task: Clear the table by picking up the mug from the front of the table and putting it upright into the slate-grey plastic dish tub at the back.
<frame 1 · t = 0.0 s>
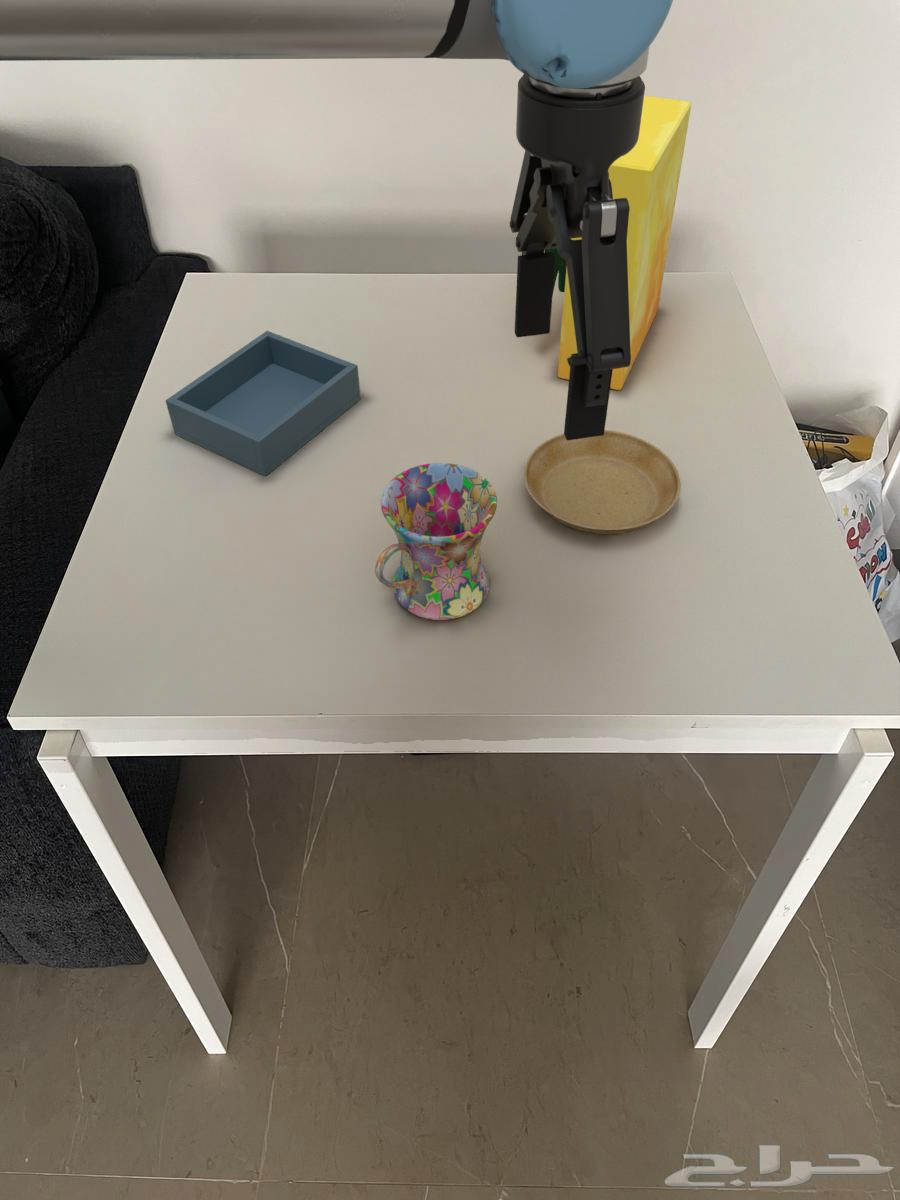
hand: (556, 381, 71), 19 cm above the table, tool pointing down, fingers open, 13 cm apart
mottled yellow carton: (587, 341, 110), on the table
mug: (431, 600, 83), on the table
plant saucer: (598, 498, 92), on the table
tub: (269, 416, 101), on the table
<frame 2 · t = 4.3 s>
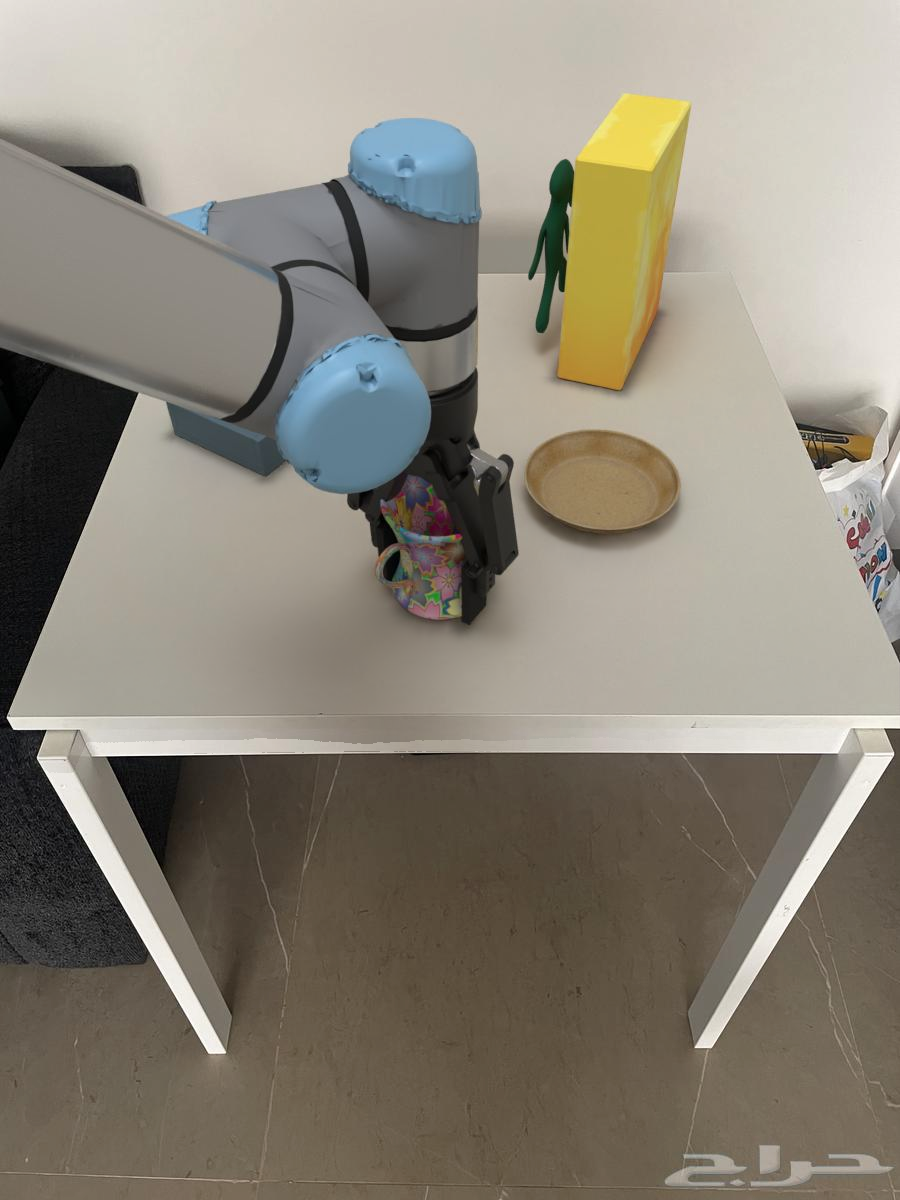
hand: (433, 593, 82), 1 cm above the table, tool pointing down, fingers closed on mug, 8 cm apart
mug: (430, 600, 83), on the table, touching gripper
everything else where it was.
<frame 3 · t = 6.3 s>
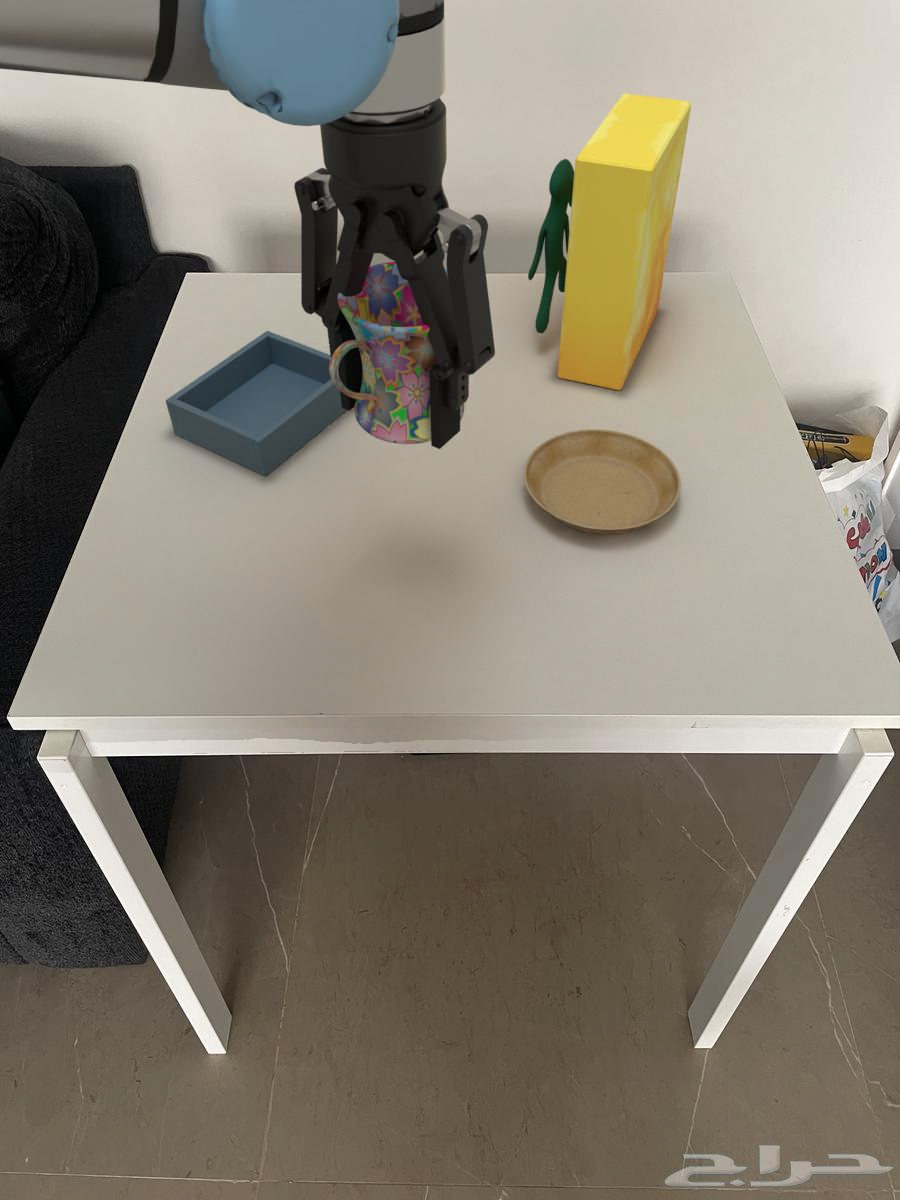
hand: (400, 418, 72), 17 cm above the table, tool pointing down, fingers closed on mug, 8 cm apart
mug: (397, 428, 73), point 16 cm above the table, touching gripper
everything else where it was.
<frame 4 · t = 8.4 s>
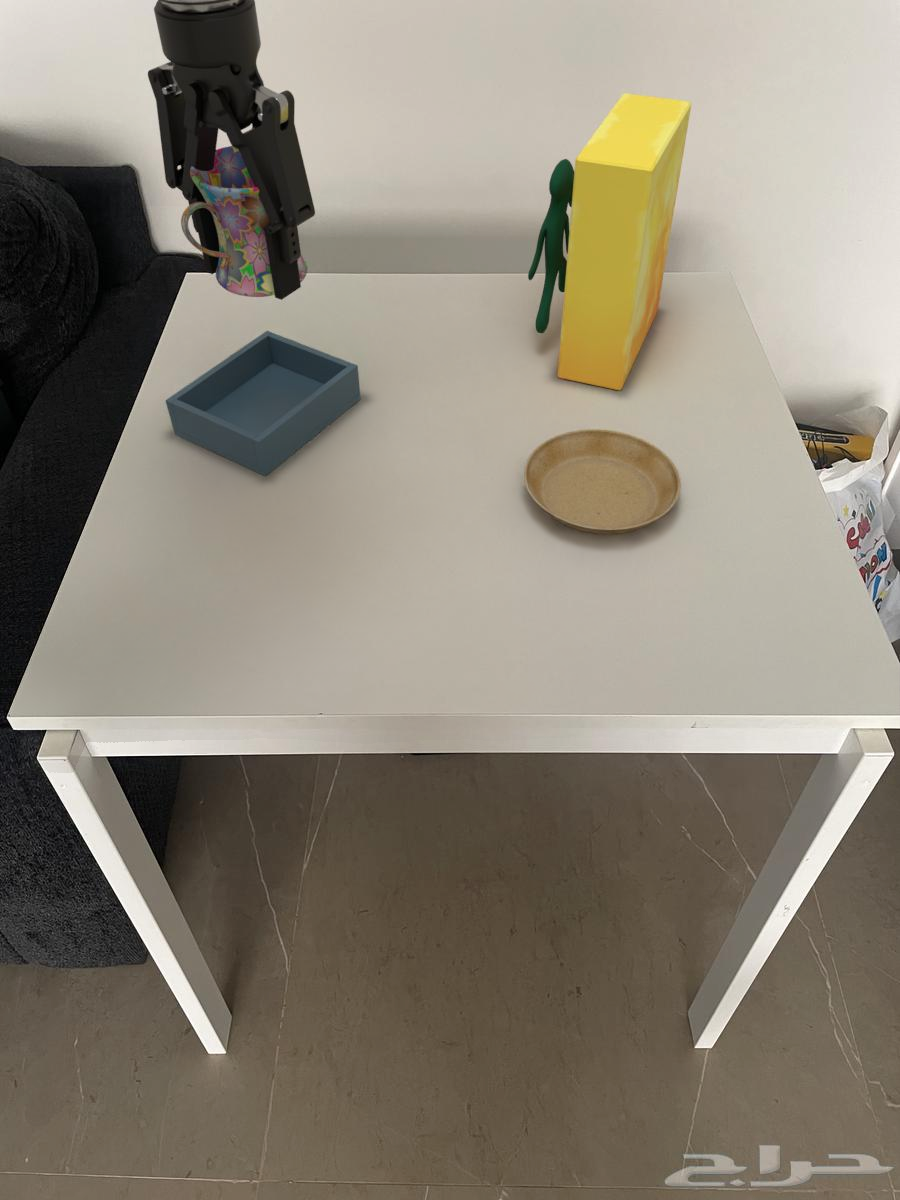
hand: (253, 279, 87), 17 cm above the table, tool pointing down, fingers closed on mug, 8 cm apart
mug: (252, 288, 88), point 16 cm above the table, touching gripper
everything else where it was.
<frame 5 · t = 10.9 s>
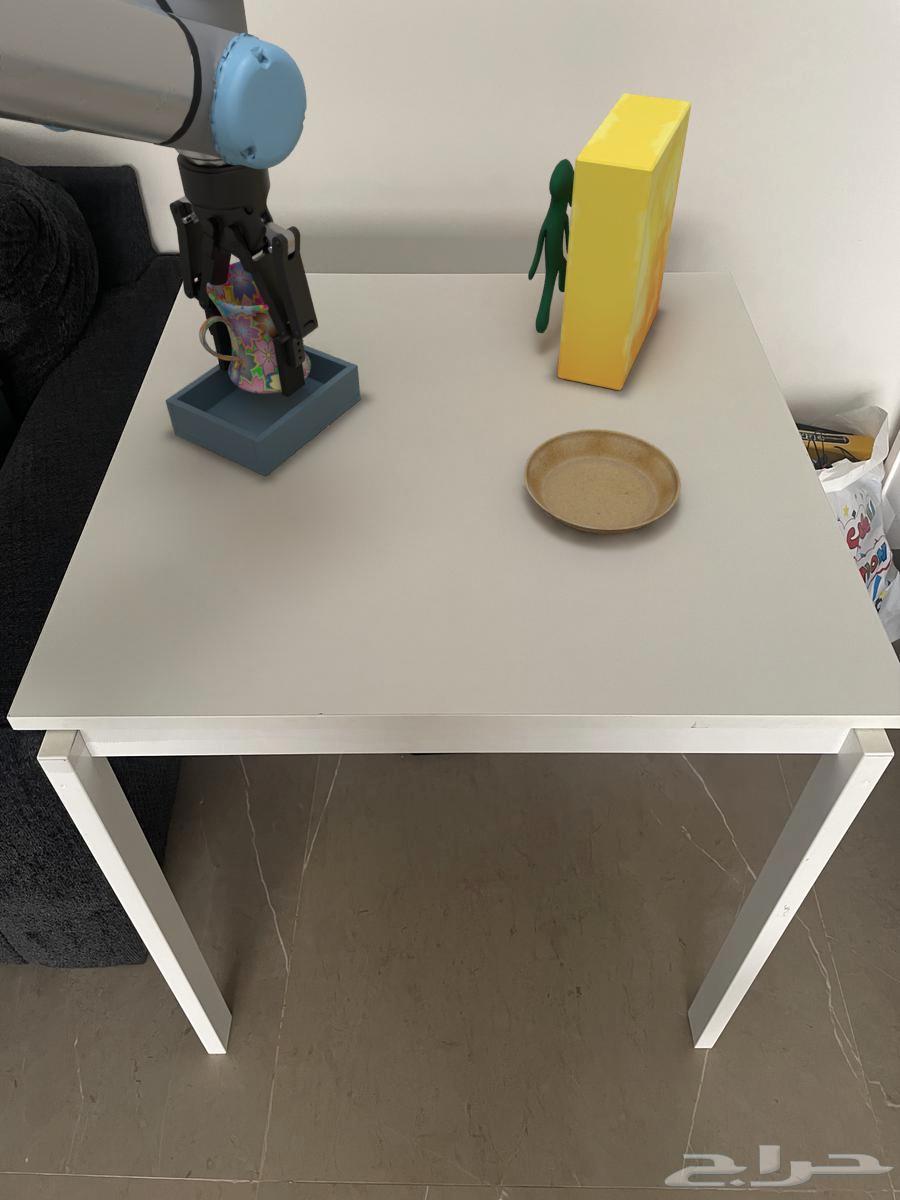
hand: (262, 376, 97), 5 cm above the table, tool pointing down, fingers closed on mug, 8 cm apart
mug: (261, 383, 98), point 4 cm above the table, touching gripper
everything else where it was.
when the fingers open (3 cm above the table, at t = 13.2 s): mug stays where it is, resting on tub.
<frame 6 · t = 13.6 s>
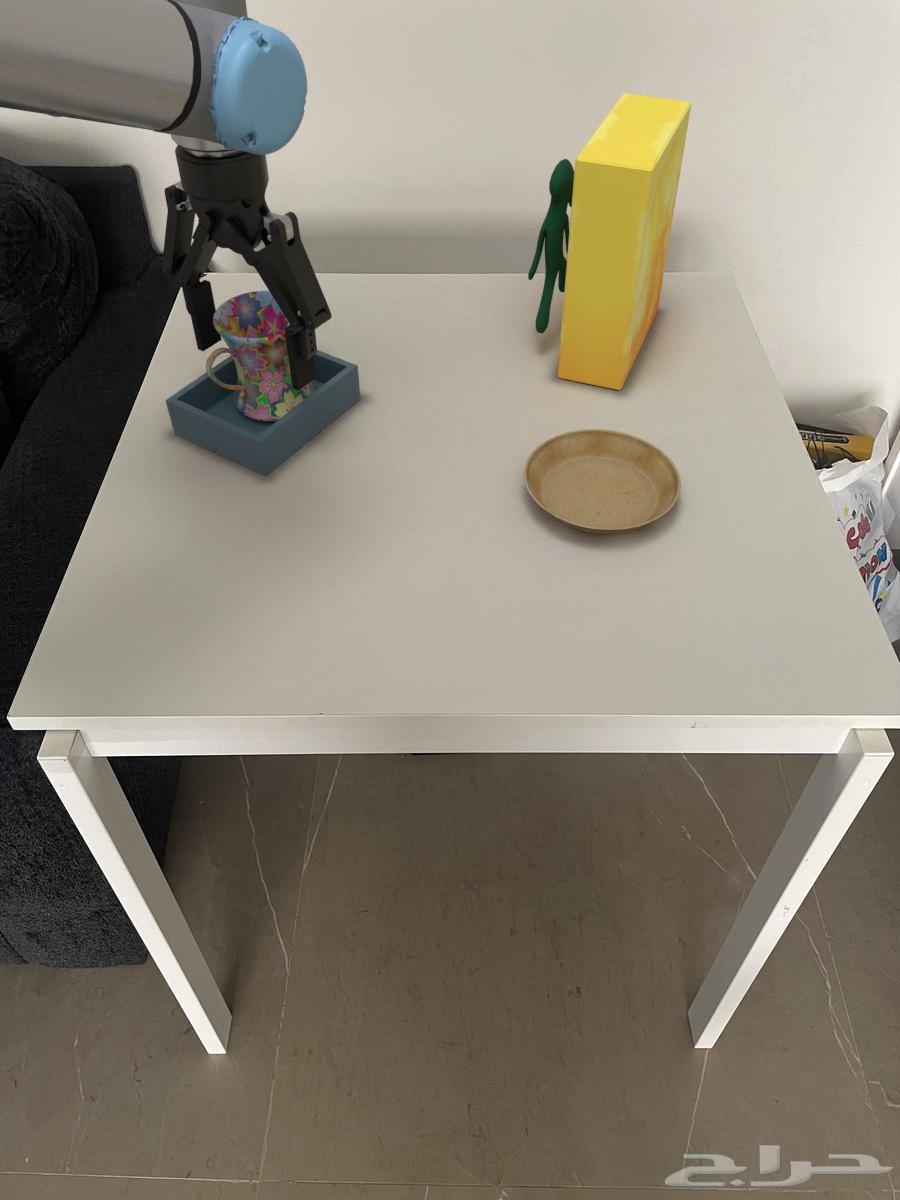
hand: (255, 363, 96), 7 cm above the table, tool pointing down, fingers open, 12 cm apart
mug: (266, 410, 101), point 1 cm above the table, touching tub
everything else where it was.
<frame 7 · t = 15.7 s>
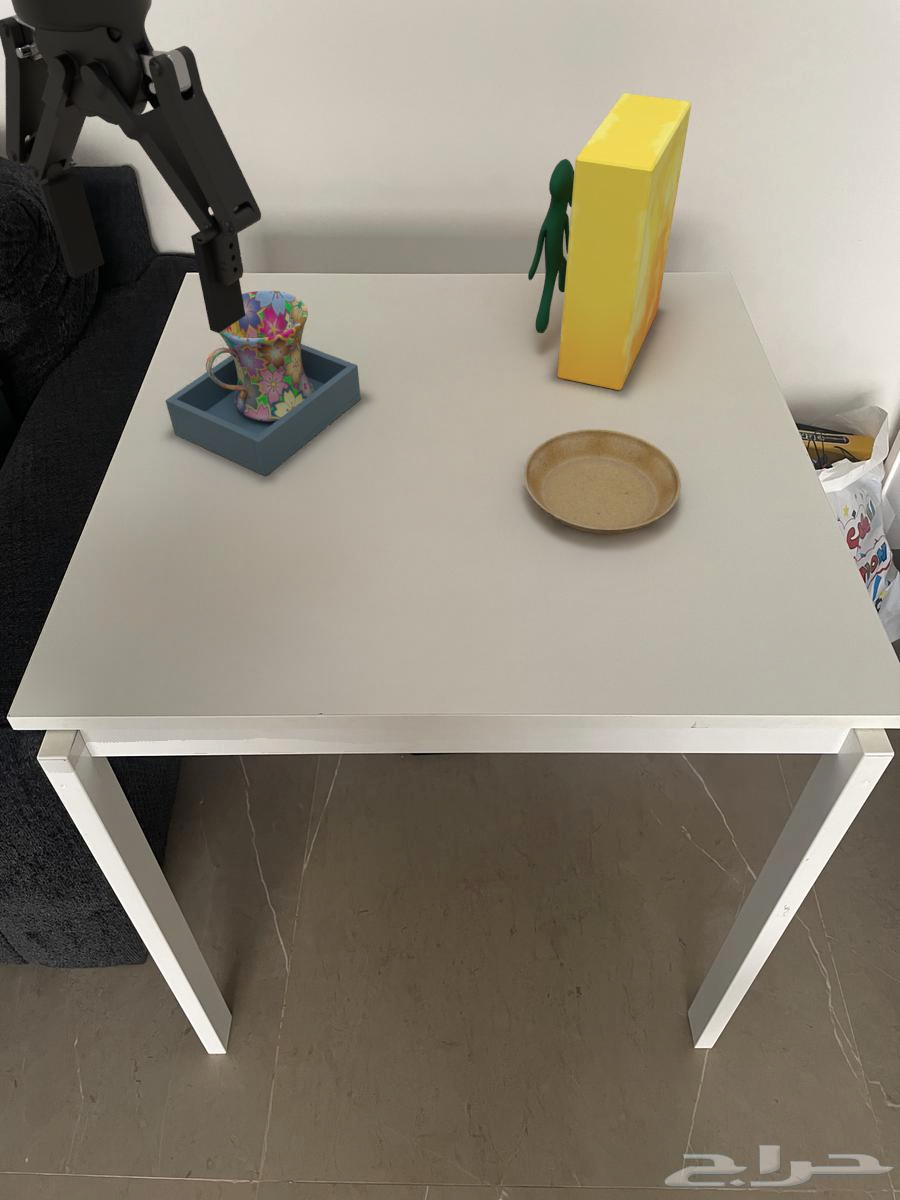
hand: (155, 295, 66), 27 cm above the table, tool pointing down, fingers open, 13 cm apart
nothing on the table moved.
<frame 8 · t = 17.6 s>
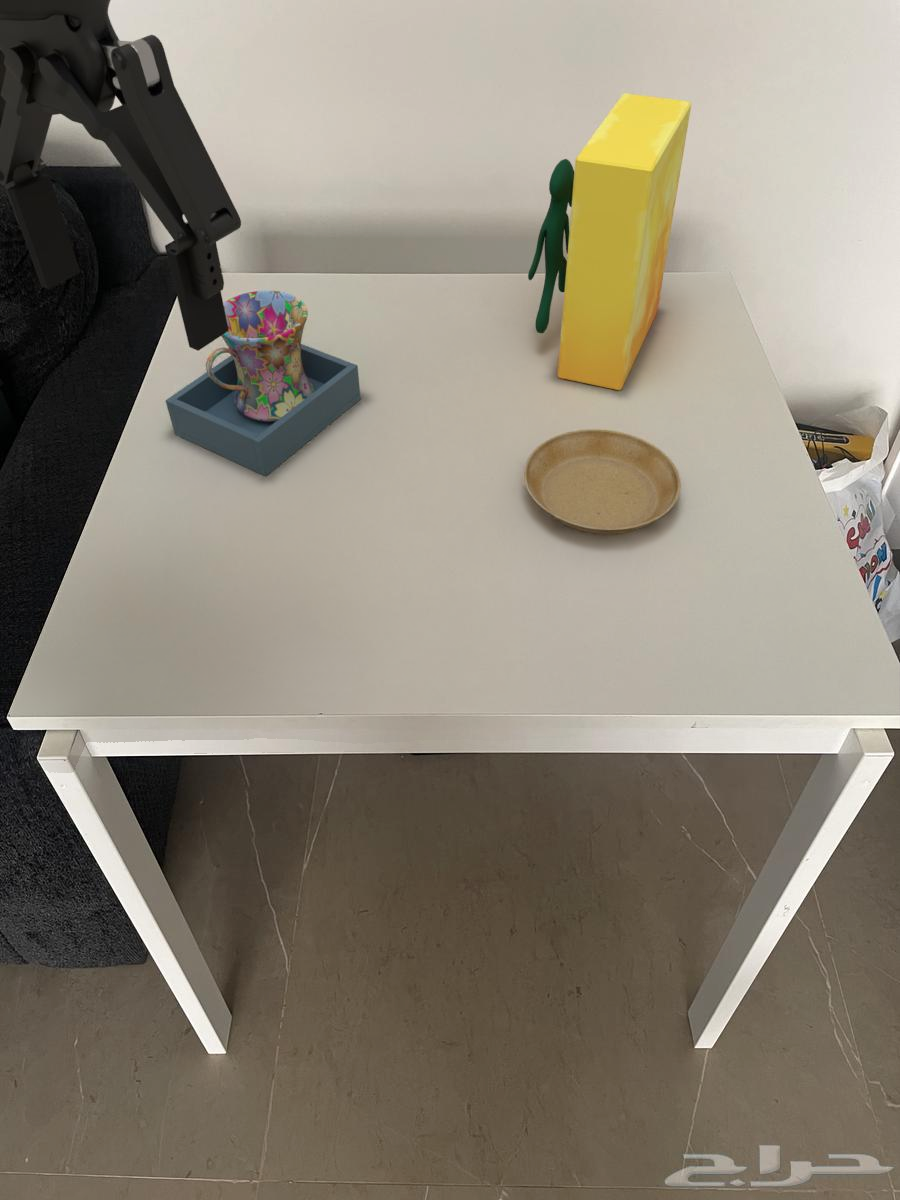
hand: (132, 308, 61), 29 cm above the table, tool pointing down, fingers open, 13 cm apart
nothing on the table moved.
at the end: mug inside the target area in the tub (0.3 cm from its centre), point 0.6 cm above the tub's base; mug tilted 0°; the gripper is holding nothing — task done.
